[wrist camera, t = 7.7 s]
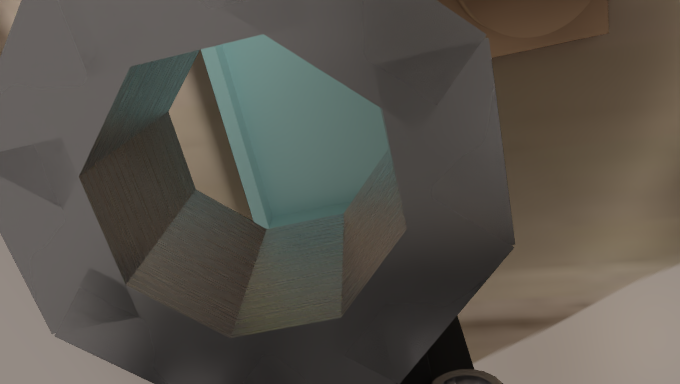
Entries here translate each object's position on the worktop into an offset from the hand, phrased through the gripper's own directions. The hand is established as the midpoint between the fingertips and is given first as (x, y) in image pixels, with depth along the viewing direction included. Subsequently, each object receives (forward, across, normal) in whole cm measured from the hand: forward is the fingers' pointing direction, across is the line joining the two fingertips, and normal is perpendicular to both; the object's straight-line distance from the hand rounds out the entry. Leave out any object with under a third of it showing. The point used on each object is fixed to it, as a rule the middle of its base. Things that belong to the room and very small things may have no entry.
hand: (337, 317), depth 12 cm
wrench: (-1, 0, -2) cm, 2 cm away
